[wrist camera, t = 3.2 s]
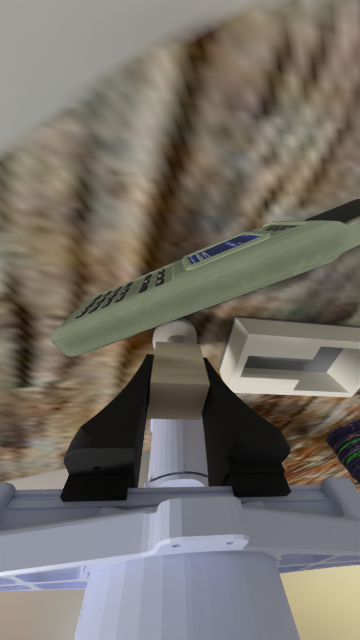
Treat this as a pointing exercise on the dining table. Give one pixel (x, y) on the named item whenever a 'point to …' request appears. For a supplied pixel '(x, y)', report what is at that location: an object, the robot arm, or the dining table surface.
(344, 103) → the dining table surface
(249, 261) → the handheld radio
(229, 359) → the white hollow rectangular frame
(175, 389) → the keyhole peg
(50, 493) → the robot arm
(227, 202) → the dining table surface
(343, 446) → the storage jar
